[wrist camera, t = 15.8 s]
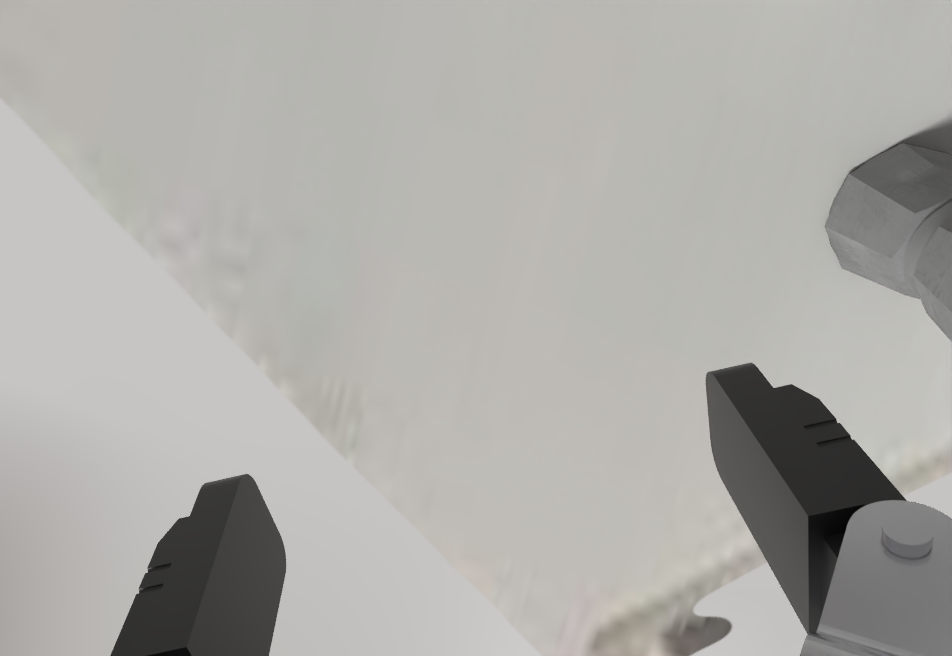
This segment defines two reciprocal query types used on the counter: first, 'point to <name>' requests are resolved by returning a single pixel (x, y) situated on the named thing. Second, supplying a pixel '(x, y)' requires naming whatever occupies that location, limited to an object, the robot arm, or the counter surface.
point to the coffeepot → (899, 226)
